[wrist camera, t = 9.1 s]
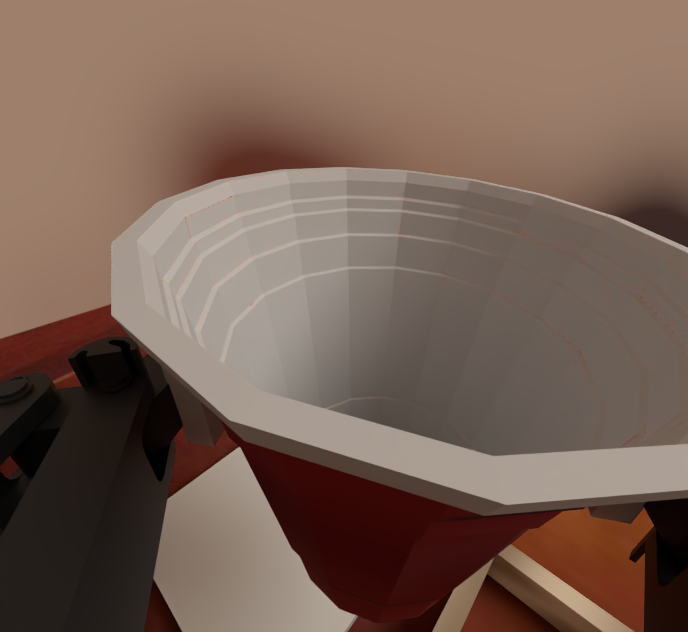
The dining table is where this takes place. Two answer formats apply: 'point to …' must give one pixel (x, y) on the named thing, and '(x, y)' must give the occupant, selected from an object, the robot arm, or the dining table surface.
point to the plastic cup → (416, 362)
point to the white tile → (236, 561)
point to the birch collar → (529, 596)
